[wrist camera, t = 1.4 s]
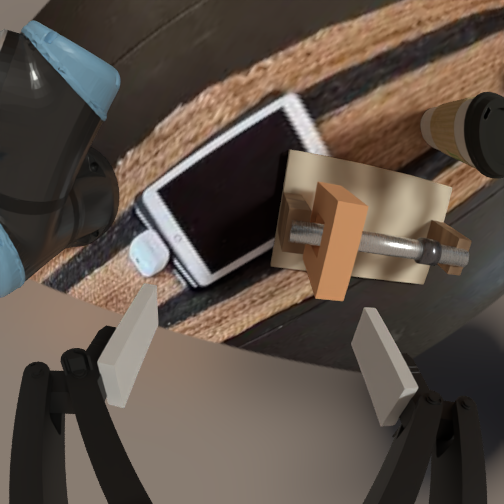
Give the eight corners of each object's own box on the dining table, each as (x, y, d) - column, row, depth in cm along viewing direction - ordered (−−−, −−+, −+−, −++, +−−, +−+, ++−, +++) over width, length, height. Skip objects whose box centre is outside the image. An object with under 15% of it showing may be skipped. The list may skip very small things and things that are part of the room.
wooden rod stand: (270, 262, 45) (273, 295, 36) (289, 149, 38) (298, 155, 30) (420, 280, 46) (445, 309, 37) (448, 186, 39) (483, 201, 31)
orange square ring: (302, 258, 40) (315, 298, 31) (317, 181, 36) (338, 200, 27) (324, 260, 40) (343, 301, 31) (341, 185, 36) (368, 206, 27)
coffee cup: (443, 174, 39) (507, 199, 25) (397, 132, 37) (460, 140, 23) (471, 125, 36) (538, 135, 22) (429, 81, 34) (495, 73, 20)
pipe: (286, 239, 35) (289, 250, 32) (291, 212, 34) (294, 220, 31) (453, 263, 36) (465, 274, 33) (461, 242, 35) (473, 251, 32)
